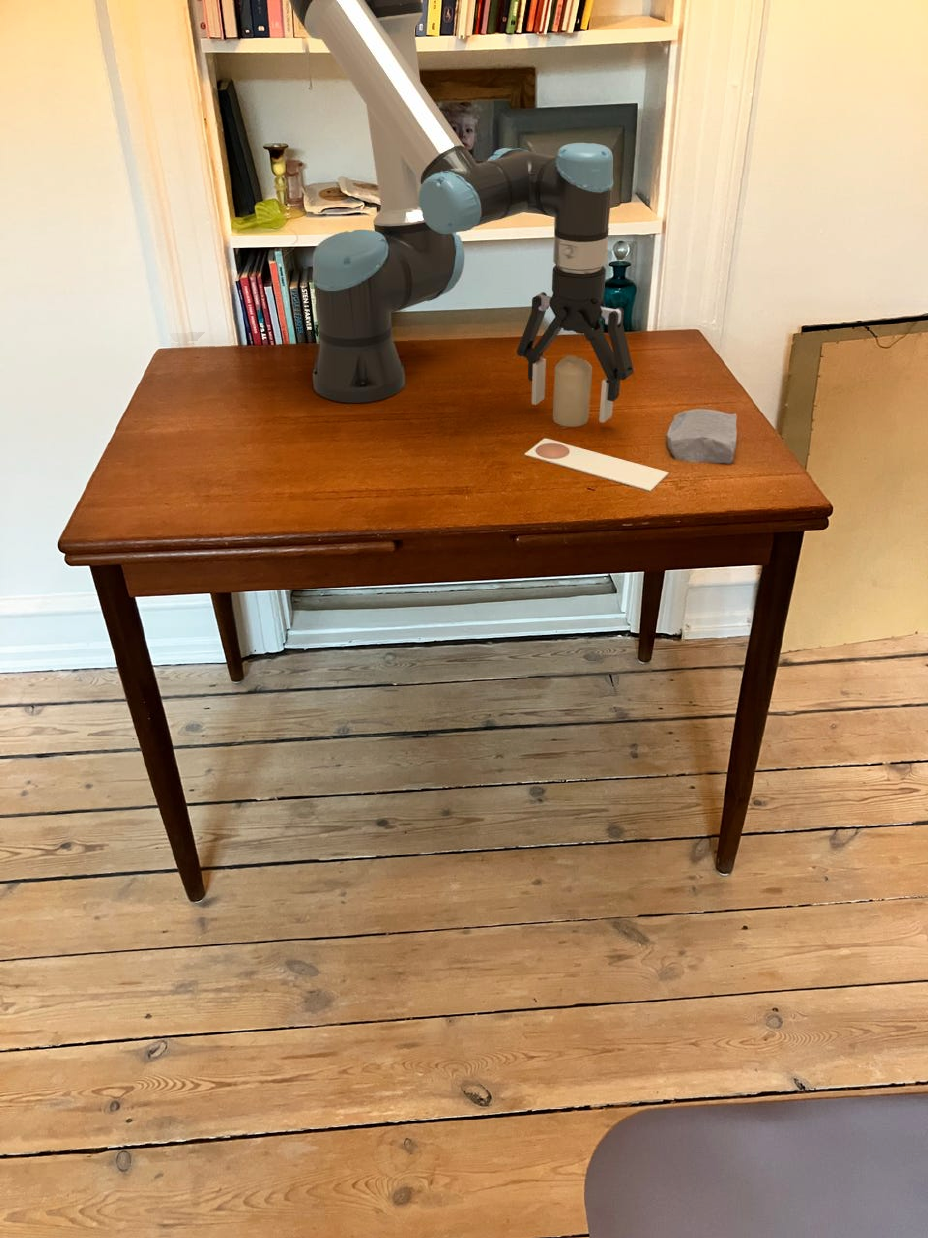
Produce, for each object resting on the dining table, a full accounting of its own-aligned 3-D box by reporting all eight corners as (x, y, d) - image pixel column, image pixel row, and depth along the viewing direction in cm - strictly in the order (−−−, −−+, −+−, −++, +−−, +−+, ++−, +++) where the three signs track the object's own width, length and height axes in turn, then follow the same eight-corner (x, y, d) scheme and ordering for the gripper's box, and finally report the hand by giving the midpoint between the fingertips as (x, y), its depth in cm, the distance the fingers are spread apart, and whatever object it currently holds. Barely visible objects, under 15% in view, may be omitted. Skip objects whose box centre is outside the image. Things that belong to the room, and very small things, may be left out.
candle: (594, 417, 155) (599, 355, 149) (578, 430, 152) (582, 367, 146) (563, 409, 158) (566, 348, 152) (546, 422, 154) (549, 360, 148)
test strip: (524, 455, 145) (524, 453, 145) (544, 439, 149) (544, 437, 149) (650, 491, 136) (650, 490, 136) (668, 473, 140) (668, 472, 140)
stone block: (667, 472, 145) (739, 466, 142) (664, 442, 142) (737, 434, 139) (670, 438, 154) (737, 432, 151) (668, 409, 152) (736, 402, 149)
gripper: (494, 259, 143) (493, 401, 156) (644, 287, 133) (629, 437, 146) (521, 245, 148) (518, 384, 161) (667, 272, 138) (651, 418, 151)
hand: (571, 409), depth 154 cm, fingers open, 11 cm apart
